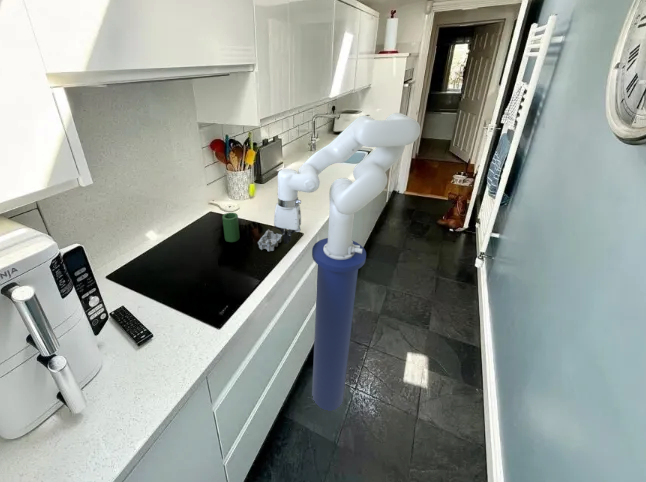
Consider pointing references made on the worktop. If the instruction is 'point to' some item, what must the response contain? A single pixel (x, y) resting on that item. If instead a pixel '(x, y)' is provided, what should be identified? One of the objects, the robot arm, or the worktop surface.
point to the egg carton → (269, 240)
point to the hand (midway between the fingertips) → (287, 241)
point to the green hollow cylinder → (231, 227)
